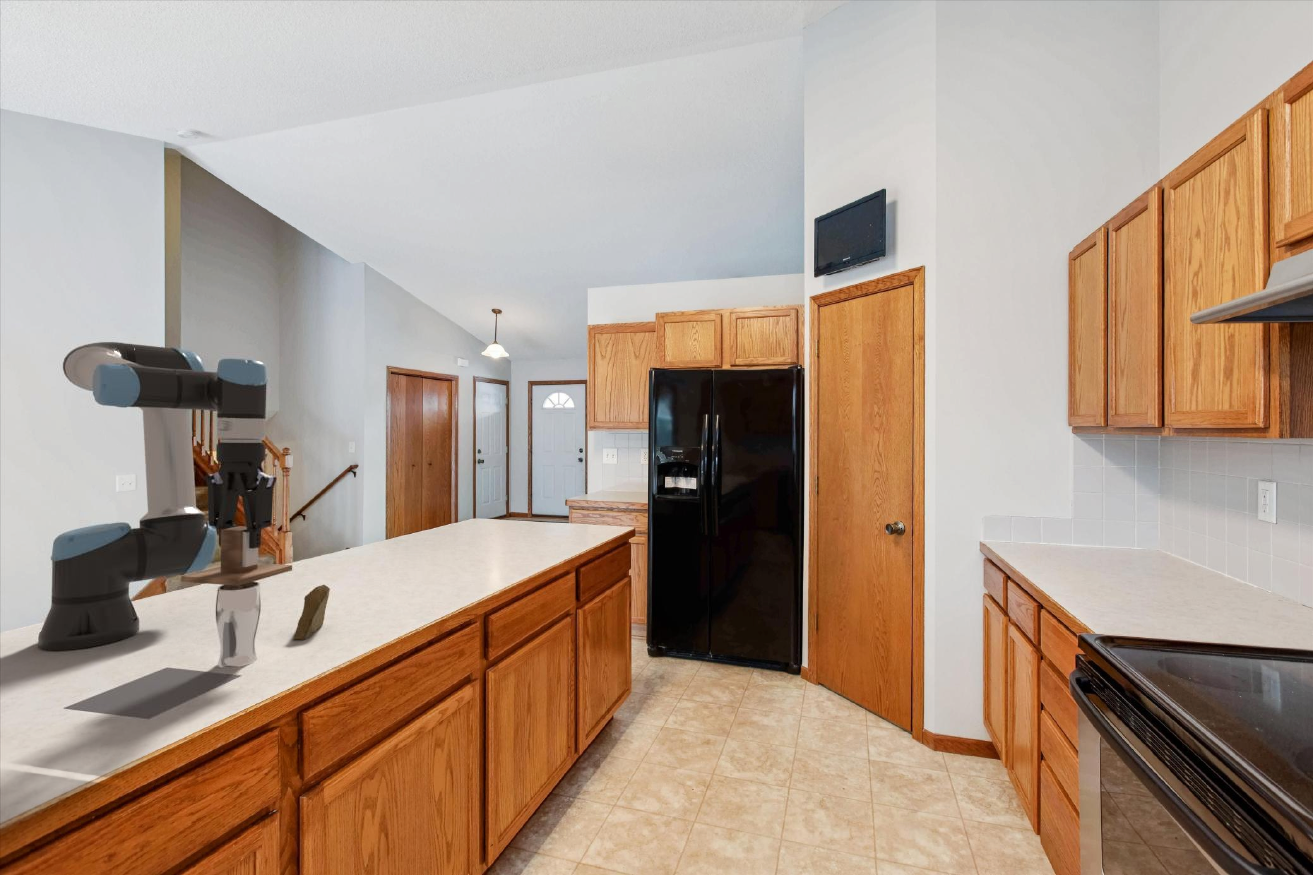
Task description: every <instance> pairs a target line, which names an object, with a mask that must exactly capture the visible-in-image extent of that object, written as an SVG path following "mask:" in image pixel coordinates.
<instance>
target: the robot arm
mask: <svg viewBox="0 0 1313 875" xmlns="http://www.w3.org/2000/svg"><path fill="white" fill-rule="evenodd" d="M62 371H63V374H64V376H65V377H66V378H67V379H68V381H69V382H70V383H72V384H73V385H74V386H76V387H78V388H80V389H82V390H86V391H90V392H92V395H93V397H94V400H95V402H96V403H97V404H98V405H101V406H105V407H106V406H108V407H117V408H139V409H141V411H142V421H143V424H142V425H143V440H144V443H143V444H144V460H145V461H144V462H145V476H146V477H145V480H146V497H147V498H146V500H147V512H146V513H145V515H143V516H142V517H141V518H140V519H139V527H137V528H136V527H135V528H134V527H133V528H132V526H131V525H130V523H129V522H121V521H120V522H112V523H103V524H95V525H90V526H85V527H79V528H76V529H71V530H69V531H66V532H62V533H61V534H59V535H57V536H56V537H55V539H54V540H53V544H52V552H51V556H50V560H51V605H50V609H49V611H48V613H47V616H46V618H45V621H44V623H43V625H42V627H41V630H40V632H39V633H38V636H37V637H38V639H37V645H38V648H39V649H40V650H45V651H68V650H70V651H71V650H80V649H85V648H91V647H92V648H93V647H96V646H102V645H107V644H110V643H115V642H117V641H120V640H125V639H127V638H129V637H131V636H133V635H135V634H137V633H138V632H139V631H140V619H139V616H138V614H137V612H136V609H135V607H134V605H133V602H132V600H131V598H130V583H133V582H143V581H147V580H148V581H149V580H154V579H155V580H156V579H162V578H169V577H176V576H184V575H188V574H192V573H196V572H200V571H205V569H207V568H208V567H209V565H210V564H211V563H212V561H213V559H214V555H215V552H216V547H217V543H218V546H219V547H220V548H221V529H227V528H233V527H238V525H237V524H235V521H236V515H237V510H238V504H239V499H240V497H241V500H242V501H241V502H242V507H243V508H242V509H243V513H244V514H243V515H244V520H245V527H247V529H245V530H244V532H243V556H242V567H248V566H252V565H256V564H258V563H259V548H261V546H262V545H261V544H262V530H264V529H265V528H266V529H267V528H270V527H271V526H272V524H273V523H272V521H273V501H274V499H273V498H274V488H275V484H276V483H277V482H276V481H277V476H276V475H269V474H267V473H266V472H264V468H263V465H262V463H264V462H265V460H266V444H265V443H264V442H263V440H266V439H267V438H266V436H267V435H266V429H267V428H266V419H267V418H266V416H267V384H268V377H267V366H266V364H264V363H263V362H261V361H258V360H253V359H247V358H246V359H245V358H243V359H242V358H222V359H220V360H219V361H218V362H217V371H215V372H214V371H206V369H205V366H204V363H203V362H202V359H201V358H200V356H199V355H198V354H197V353H195V352H193V351H191V350H187V349H180V348H176V347H170V346H169V347H164V346H156V345H155V346H153V345H145V344H144V345H143V344H134V343H126V342H116V341H102V342H101V341H99V342H93V343H87V344H84V345H81V346H77V347H75V348H74V349H72V350H70V352H68V353H67V354H66V355H65V357H64V359H63V362H62ZM191 410H199V411H202V410H203V411H210V412H211V411H212V412H216V418H217V419H216V439H217V440H220V442H217V444H216V446H215V447H216V449H215V450H216V457H215V460H216V461H217V462H218V463H220V466H219V468H218V471H217V472H215V473H208V474H205V475H204V476H205V477H204V478H205V479H204V480H205V482H206V485H207V501H208V502H207V504H208V505H207V506H208V507H207V509H208V510H207V511H208V514H207V515H208V518H207V520H206V514H205V512H203V511H201V510H200V509H199V508H198V507H197V499H196V484H195V469H194V468H195V466H194V453H193V452H194V451H193V440H192V439H193V437H192V436H193V435H192V434H193V433H192V423H191ZM217 530H218V533H217ZM217 540H218V542H217Z"/></svg>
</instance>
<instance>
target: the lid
mask: <svg viewBox="0 0 1313 875" xmlns="http://www.w3.org/2000/svg"><path fill="white" fill-rule="evenodd" d="M245 529H247V527H246V525H245V526H244V525H243V526H241V525H240V526H236V527H233V528H227V529H221V547H220V566H218V567H214V568H210V569H206V570H205V569H204V570H202V571H199V572H194V573H188V574H185V575H180V576H181V578H180V582H181V583H196V584H209V585H210V584H211V585H219V586H221V585H234V586H240V585H243V584H246V583H250V582H253V581H255V582H258V581H259V580H260V581H261V580H264V579H266V578H269V577H274V576H277V575H280V574H285V573H288V572H291V571H293V565H292V564H290V565H289V564H278V563H277V564H276V563H260V562H258V564H256V565H252V566H248V567H242V556H243V532H244V530H245Z"/></svg>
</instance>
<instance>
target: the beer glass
mask: <svg viewBox="0 0 1313 875" xmlns="http://www.w3.org/2000/svg"><path fill="white" fill-rule="evenodd" d="M215 598H216V599H215V622H216V628H217V635H218V639H219V643H220V647H219V648H220V653H219V659H218V662H217V667H218V668H221V669H237V668H241V667H247V666H248V665H251V664H254V663H255V662H256V661H257V659H258V657H257V653H256V643H255V642H256V635H257V633H258V632H257V631H258V627H259V623H260V622H259V621H260V617H261V610H262V609H261V607H262V599H261V598H262V596H261V583H260V581H253V582H250V583H246V584H243V585H240V586H234V585H219V586H218V587H217V590H216V597H215Z"/></svg>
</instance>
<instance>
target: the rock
mask: <svg viewBox="0 0 1313 875" xmlns="http://www.w3.org/2000/svg"><path fill="white" fill-rule="evenodd" d="M330 591H331V589H330V587H328V586H327V585H325V584H322V585H318V586H316V587H314V588H313V589H312V590H311V591H309V593H307V594H306V595H305V596H304V598H303V600H304V604H303V609H302V613H301V616H300V617H299V619H298V622H297V627H296V629H295V632H294V635H293V637H292V639H293V640H305V639H307V638H308V637H309V636H312V634H313V633H315V632H316V631H318V630H319V629H320V628H321V627H322V626H323V625H324V621H325V615H326V609H327V604H328V600H329V595H330ZM317 629H318V630H317Z"/></svg>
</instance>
